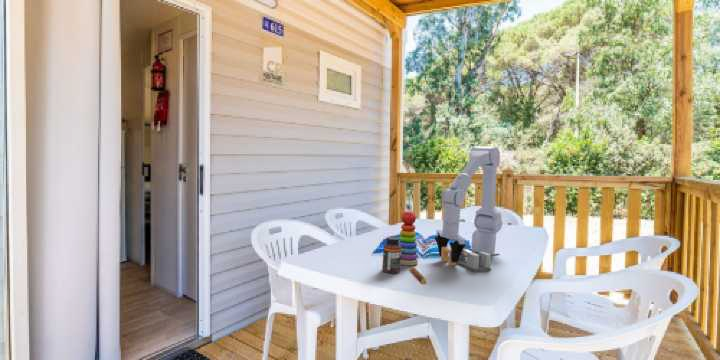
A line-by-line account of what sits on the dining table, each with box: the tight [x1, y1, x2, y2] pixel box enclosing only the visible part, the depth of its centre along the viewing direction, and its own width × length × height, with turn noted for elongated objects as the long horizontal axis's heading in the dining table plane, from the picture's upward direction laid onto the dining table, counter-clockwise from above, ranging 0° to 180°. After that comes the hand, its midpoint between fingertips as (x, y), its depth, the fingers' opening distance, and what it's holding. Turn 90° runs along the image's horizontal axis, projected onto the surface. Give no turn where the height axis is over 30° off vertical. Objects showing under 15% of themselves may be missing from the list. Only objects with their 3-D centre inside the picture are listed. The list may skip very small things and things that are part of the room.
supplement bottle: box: [382, 236, 401, 274], centre depth 130 cm, size 6×6×11 cm
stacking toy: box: [398, 210, 419, 267], centre depth 140 cm, size 8×8×19 cm
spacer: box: [440, 245, 457, 267], centre depth 143 cm, size 3×5×6 cm, turn 23°
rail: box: [448, 251, 492, 273], centre depth 144 cm, size 18×7×6 cm, turn 23°
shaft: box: [459, 242, 481, 261], centre depth 144 cm, size 12×5×5 cm, turn 23°
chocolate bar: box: [408, 265, 428, 284], centre depth 126 cm, size 3×12×2 cm, turn 10°
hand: (448, 258), depth 143 cm, fingers open, 7 cm apart
